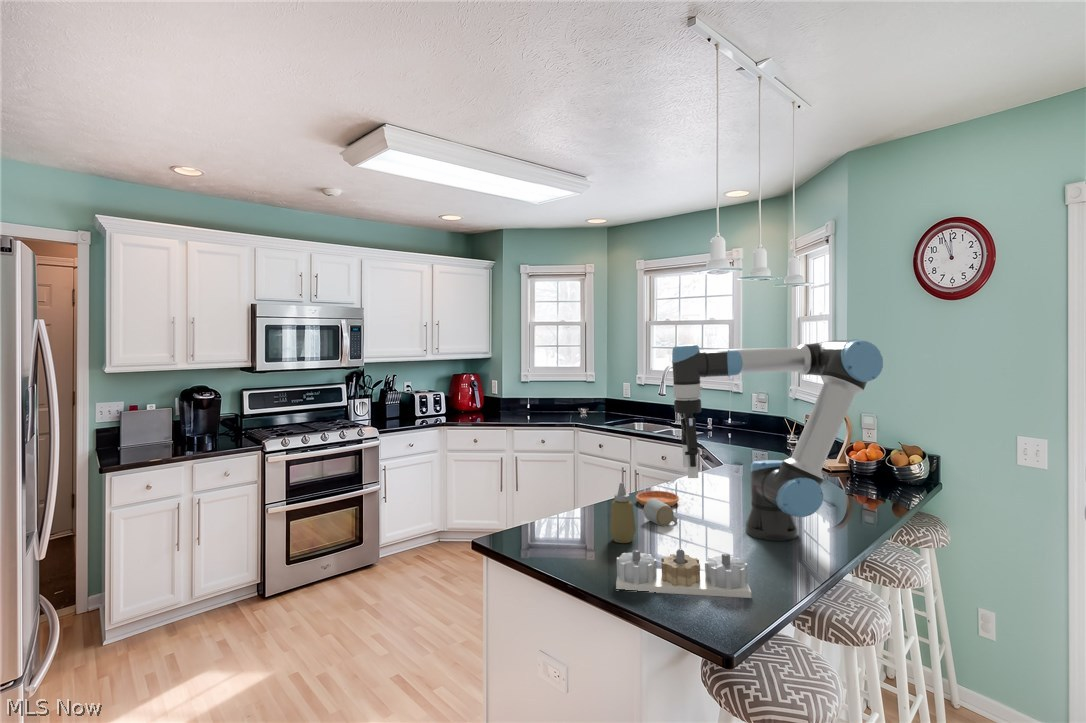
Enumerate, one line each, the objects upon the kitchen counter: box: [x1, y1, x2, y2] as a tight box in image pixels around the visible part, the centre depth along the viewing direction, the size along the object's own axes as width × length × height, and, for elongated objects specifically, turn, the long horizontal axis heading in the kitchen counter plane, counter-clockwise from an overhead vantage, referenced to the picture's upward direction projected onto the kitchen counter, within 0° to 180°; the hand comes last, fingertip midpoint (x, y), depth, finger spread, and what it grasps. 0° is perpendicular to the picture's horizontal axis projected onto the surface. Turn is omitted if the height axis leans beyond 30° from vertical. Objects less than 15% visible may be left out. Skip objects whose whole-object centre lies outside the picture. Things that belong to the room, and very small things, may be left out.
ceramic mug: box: [643, 499, 678, 527], centre depth 190 cm, size 11×8×8 cm
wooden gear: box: [660, 553, 701, 587], centre depth 141 cm, size 9×9×4 cm
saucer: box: [635, 490, 679, 508], centre depth 213 cm, size 16×16×3 cm
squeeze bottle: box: [609, 482, 637, 544], centre depth 173 cm, size 8×8×18 cm
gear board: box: [615, 548, 752, 599], centre depth 141 cm, size 32×11×9 cm, turn 79°
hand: (690, 472), depth 161 cm, fingers open, 13 cm apart
